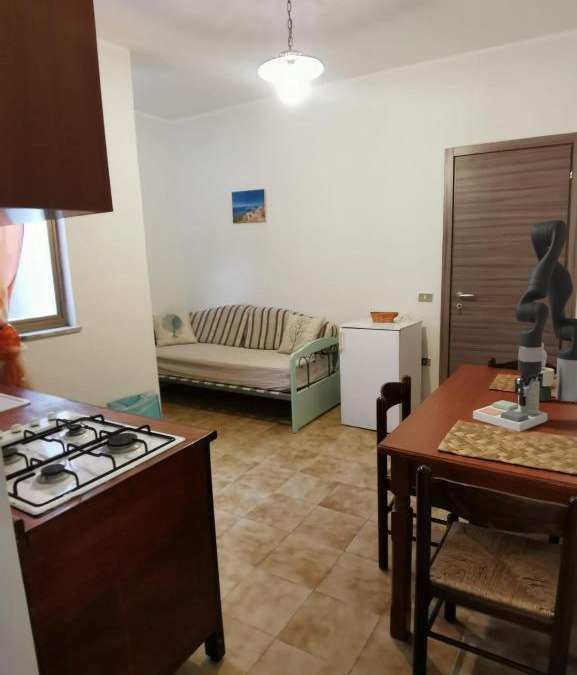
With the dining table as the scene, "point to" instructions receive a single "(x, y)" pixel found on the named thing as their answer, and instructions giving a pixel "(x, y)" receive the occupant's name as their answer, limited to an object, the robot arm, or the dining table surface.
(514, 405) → the key sage
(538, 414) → the key slate
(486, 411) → the key terracotta
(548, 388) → the character mug
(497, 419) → the white flat square tray
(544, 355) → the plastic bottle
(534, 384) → the skincare box
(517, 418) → the key charcoal
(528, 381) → the robot arm
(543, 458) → the dining table surface
